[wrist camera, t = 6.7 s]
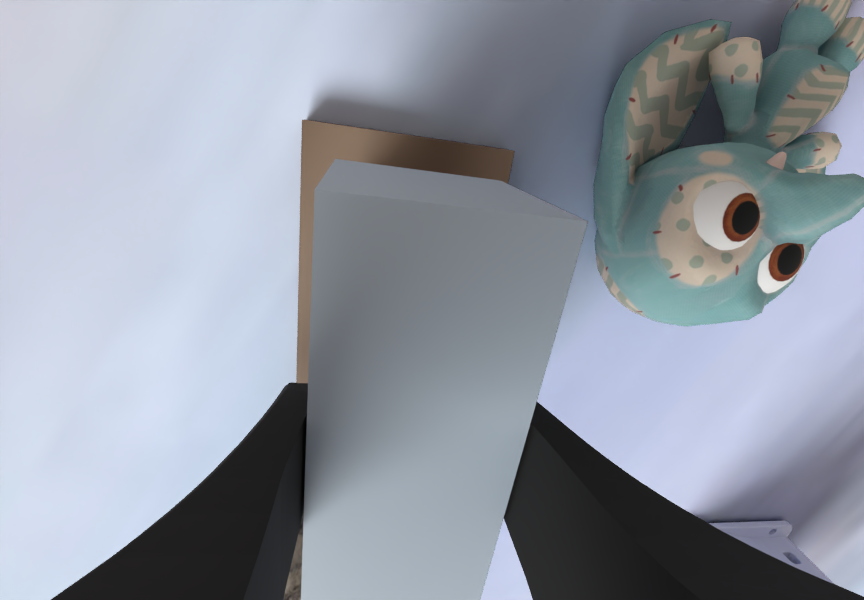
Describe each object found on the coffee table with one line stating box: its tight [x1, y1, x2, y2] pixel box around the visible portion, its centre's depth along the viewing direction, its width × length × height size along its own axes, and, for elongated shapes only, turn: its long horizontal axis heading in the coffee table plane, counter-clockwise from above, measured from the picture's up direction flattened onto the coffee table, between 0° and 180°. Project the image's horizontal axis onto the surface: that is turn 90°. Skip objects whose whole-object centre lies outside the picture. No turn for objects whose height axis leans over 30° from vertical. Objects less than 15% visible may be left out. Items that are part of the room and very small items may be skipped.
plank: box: [301, 159, 588, 600], centre depth 11 cm, size 4×12×5 cm, turn 172°
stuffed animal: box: [593, 0, 864, 326], centre depth 14 cm, size 11×7×12 cm
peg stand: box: [297, 120, 514, 383], centre depth 15 cm, size 7×13×4 cm, turn 172°
